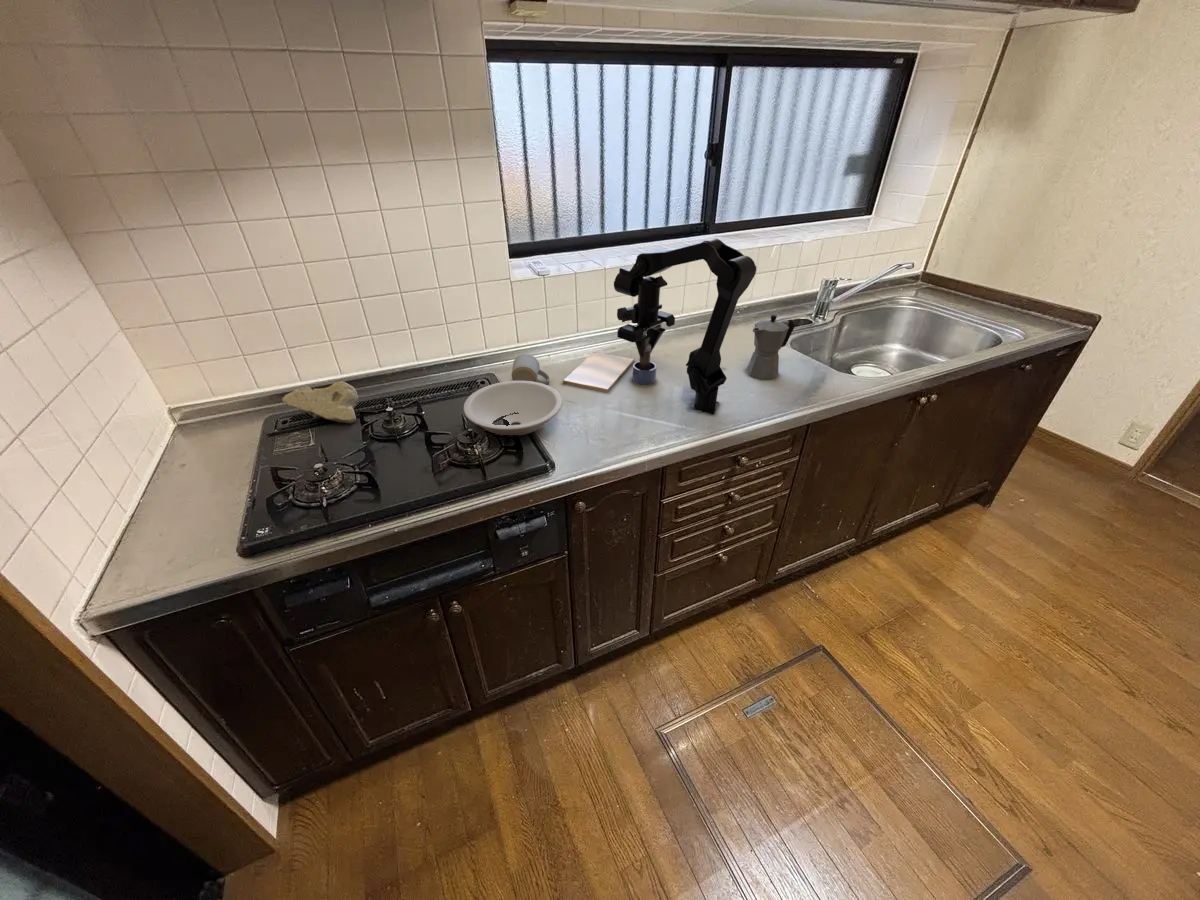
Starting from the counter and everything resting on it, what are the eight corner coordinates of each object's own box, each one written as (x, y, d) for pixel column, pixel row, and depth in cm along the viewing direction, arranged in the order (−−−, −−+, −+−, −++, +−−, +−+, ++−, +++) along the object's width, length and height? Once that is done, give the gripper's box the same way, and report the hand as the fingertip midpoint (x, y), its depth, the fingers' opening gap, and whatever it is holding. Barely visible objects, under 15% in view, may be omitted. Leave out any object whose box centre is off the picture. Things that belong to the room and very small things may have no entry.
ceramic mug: (512, 390, 142) (509, 365, 138) (514, 377, 149) (512, 353, 144) (549, 389, 143) (548, 365, 138) (550, 376, 149) (549, 352, 145)
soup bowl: (582, 425, 126) (582, 403, 123) (504, 465, 113) (501, 440, 109) (525, 393, 141) (523, 371, 137) (449, 424, 127) (444, 401, 123)
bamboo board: (607, 393, 141) (607, 389, 140) (563, 384, 145) (563, 380, 145) (634, 362, 157) (634, 358, 157) (593, 355, 162) (593, 351, 161)
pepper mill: (647, 375, 144) (649, 344, 138) (637, 373, 145) (638, 343, 139) (650, 371, 146) (652, 340, 141) (640, 369, 147) (642, 339, 142)
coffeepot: (755, 384, 146) (767, 324, 135) (734, 371, 152) (744, 313, 142) (795, 373, 151) (809, 315, 141) (773, 361, 158) (785, 305, 148)
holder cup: (651, 388, 143) (652, 372, 140) (628, 383, 145) (629, 368, 143) (658, 378, 148) (659, 362, 145) (636, 374, 151) (637, 359, 148)
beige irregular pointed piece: (376, 417, 134) (343, 373, 134) (370, 409, 127) (335, 363, 127) (324, 450, 129) (289, 404, 129) (314, 444, 122) (278, 395, 122)
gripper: (646, 286, 143) (643, 338, 152) (602, 302, 132) (602, 356, 141) (678, 295, 137) (673, 348, 146) (635, 312, 126) (632, 368, 135)
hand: (645, 354), depth 142 cm, fingers closed on pepper mill, 3 cm apart
